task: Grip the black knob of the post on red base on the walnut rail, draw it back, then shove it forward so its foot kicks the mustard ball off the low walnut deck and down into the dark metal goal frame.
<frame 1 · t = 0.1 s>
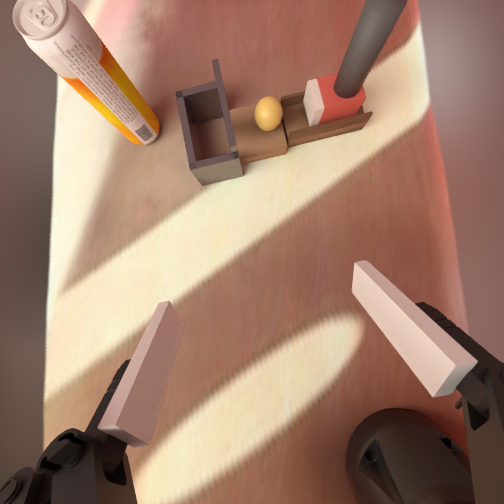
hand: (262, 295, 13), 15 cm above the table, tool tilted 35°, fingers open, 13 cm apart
deck: (258, 136, 30), on the table
rail: (319, 121, 30), on the table
post on red base: (344, 69, 22), point 8 cm above the table, slide at 0.0 cm
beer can: (146, 132, 32), on the table
goal: (215, 147, 30), on the table
ball: (268, 114, 26), point 4 cm above the table, touching deck
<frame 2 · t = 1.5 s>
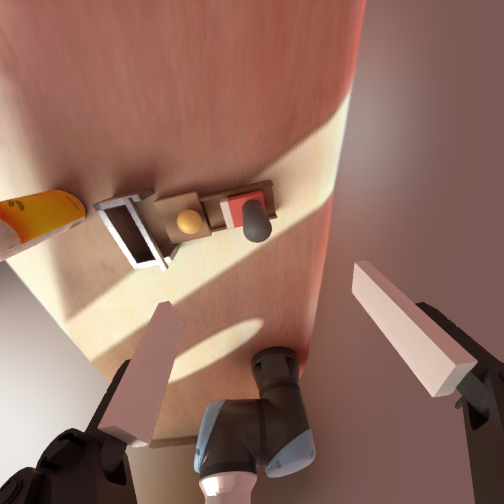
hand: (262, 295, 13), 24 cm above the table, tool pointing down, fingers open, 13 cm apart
deck: (186, 216, 34), on the table
rail: (239, 204, 33), on the table
post on red base: (244, 217, 27), point 8 cm above the table, slide at 0.0 cm
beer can: (69, 206, 32), on the table
goal: (148, 224, 34), on the table
ball: (189, 221, 30), point 4 cm above the table, touching deck
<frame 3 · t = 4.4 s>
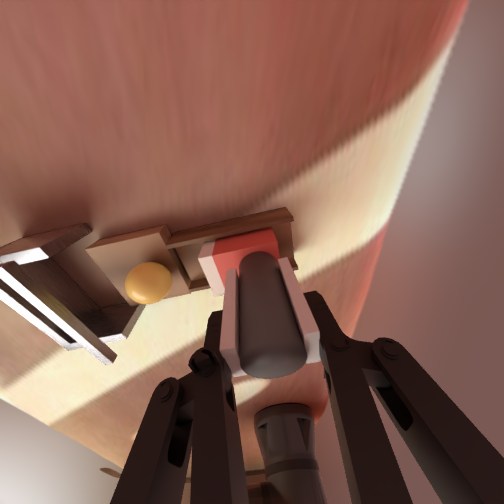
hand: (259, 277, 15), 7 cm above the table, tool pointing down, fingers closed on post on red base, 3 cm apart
deck: (150, 263, 21), on the table
rail: (236, 244, 21), on the table
post on red base: (244, 290, 14), point 8 cm above the table, slide at 0.0 cm, touching gripper
goal: (92, 275, 21), on the table
ball: (149, 282, 18), point 4 cm above the table, touching deck
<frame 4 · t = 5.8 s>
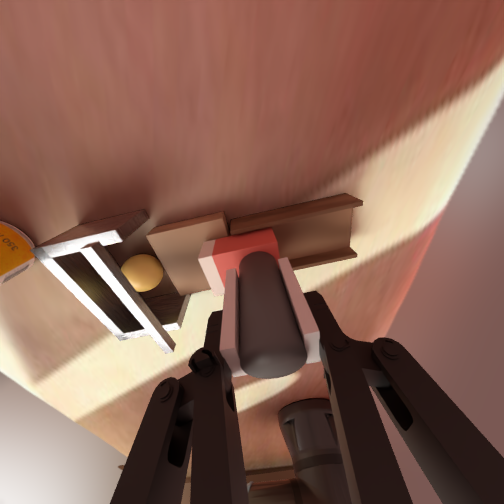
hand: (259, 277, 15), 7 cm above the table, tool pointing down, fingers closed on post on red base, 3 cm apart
deck: (202, 251, 21), on the table
rail: (290, 232, 20), on the table
post on red base: (244, 290, 14), point 8 cm above the table, slide at 6.2 cm, touching gripper
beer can: (8, 241, 19), on the table
goal: (142, 265, 21), on the table
ball: (142, 272, 20), point 2 cm above the table, tilted 141°
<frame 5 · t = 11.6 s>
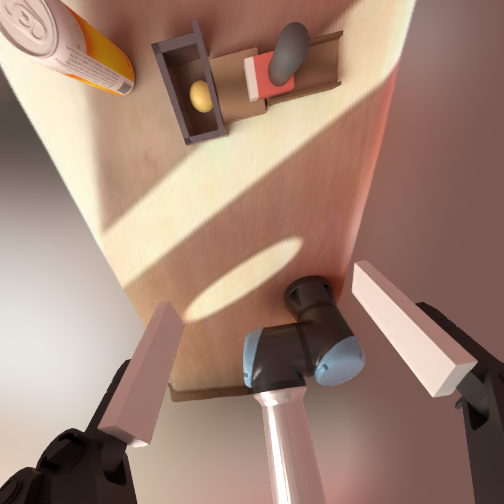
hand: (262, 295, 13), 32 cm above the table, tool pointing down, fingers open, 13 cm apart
deck: (239, 90, 31), on the table
rail: (298, 75, 31), on the table
post on red base: (273, 67, 24), point 8 cm above the table, slide at 6.3 cm
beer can: (117, 72, 29), on the table
goal: (198, 101, 32), on the table
ball: (202, 97, 30), point 2 cm above the table, tilted 134°
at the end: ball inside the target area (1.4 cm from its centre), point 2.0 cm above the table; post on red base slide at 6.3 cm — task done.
